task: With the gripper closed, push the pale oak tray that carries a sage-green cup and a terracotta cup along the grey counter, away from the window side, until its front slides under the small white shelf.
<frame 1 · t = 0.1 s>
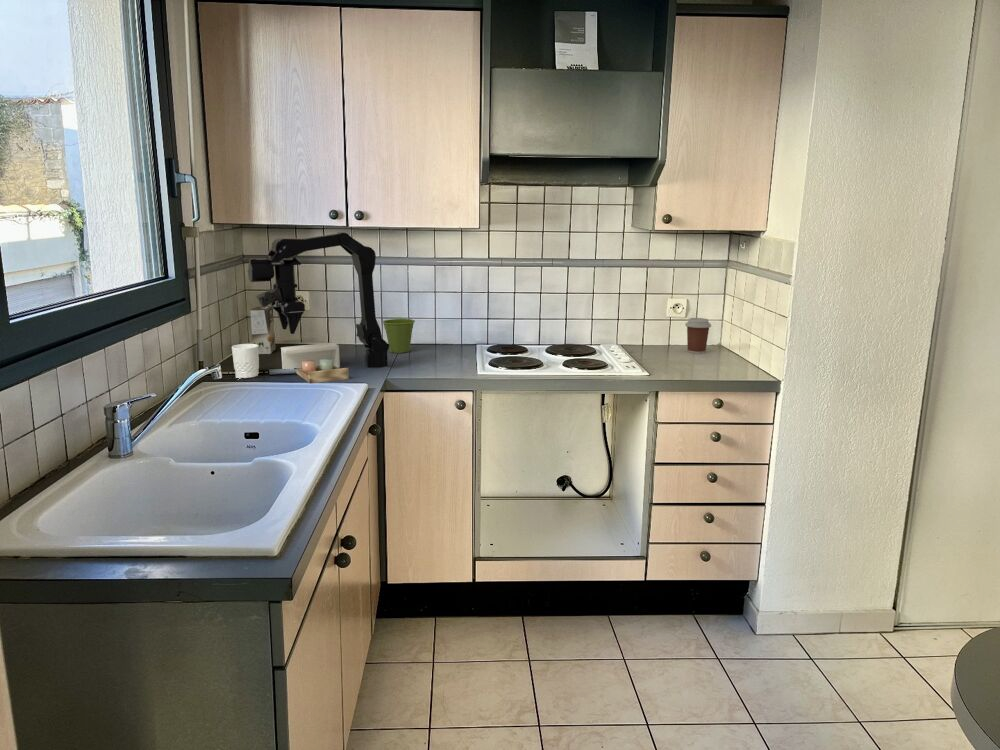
hand: (288, 331, 230), 15 cm above the worktop, tool pointing down, fingers open, 9 cm apart
plant pot: (399, 352, 274), on the worktop
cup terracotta: (309, 374, 235), point 1 cm above the worktop, touching tray
tray: (322, 372, 233), point 2 cm above the worktop, slide at 0.0 cm, touching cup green, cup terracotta
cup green: (326, 372, 238), point 1 cm above the worktop, touching tray
coffee box: (264, 352, 273), on the worktop
white cup: (247, 378, 234), on the worktop
coffee cup: (696, 352, 276), on the worktop
shelf: (311, 370, 243), on the worktop
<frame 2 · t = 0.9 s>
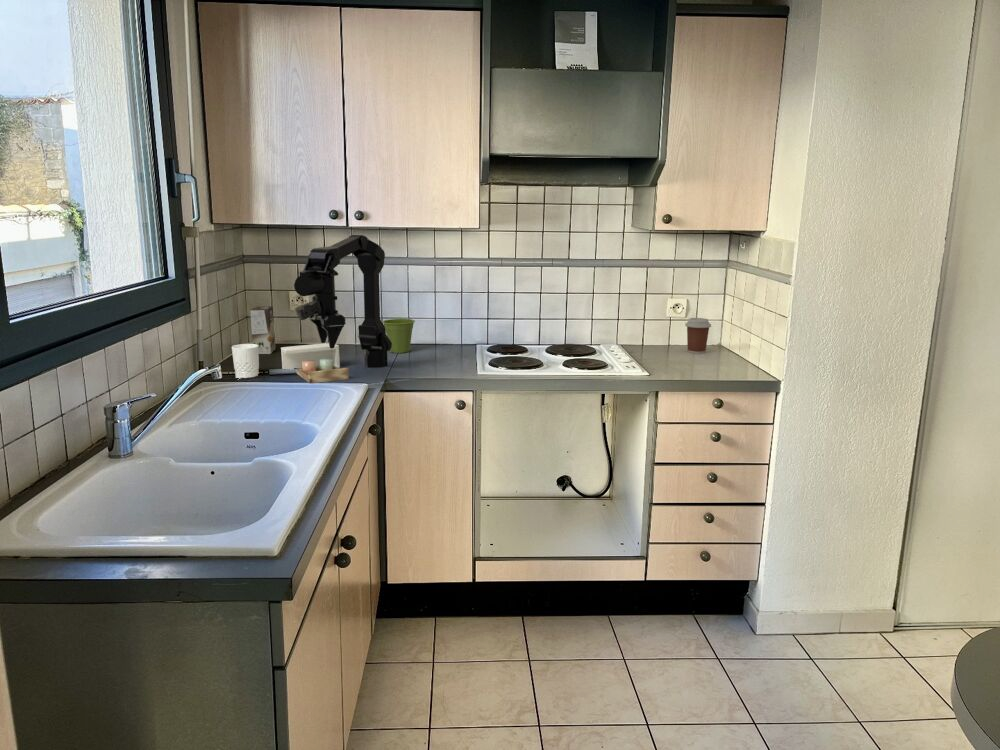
hand: (327, 345, 221), 12 cm above the worktop, tool pointing down, fingers open, 9 cm apart
nothing on the worktop moved.
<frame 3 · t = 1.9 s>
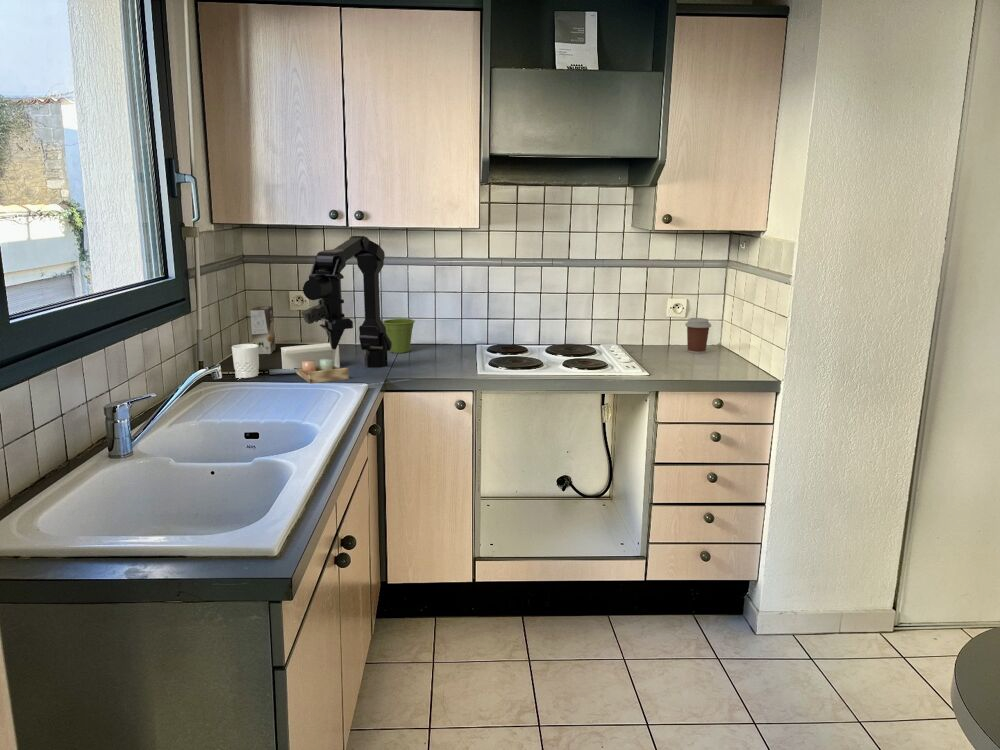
hand: (333, 349, 220), 12 cm above the worktop, tool pointing down, fingers closed
nothing on the worktop moved.
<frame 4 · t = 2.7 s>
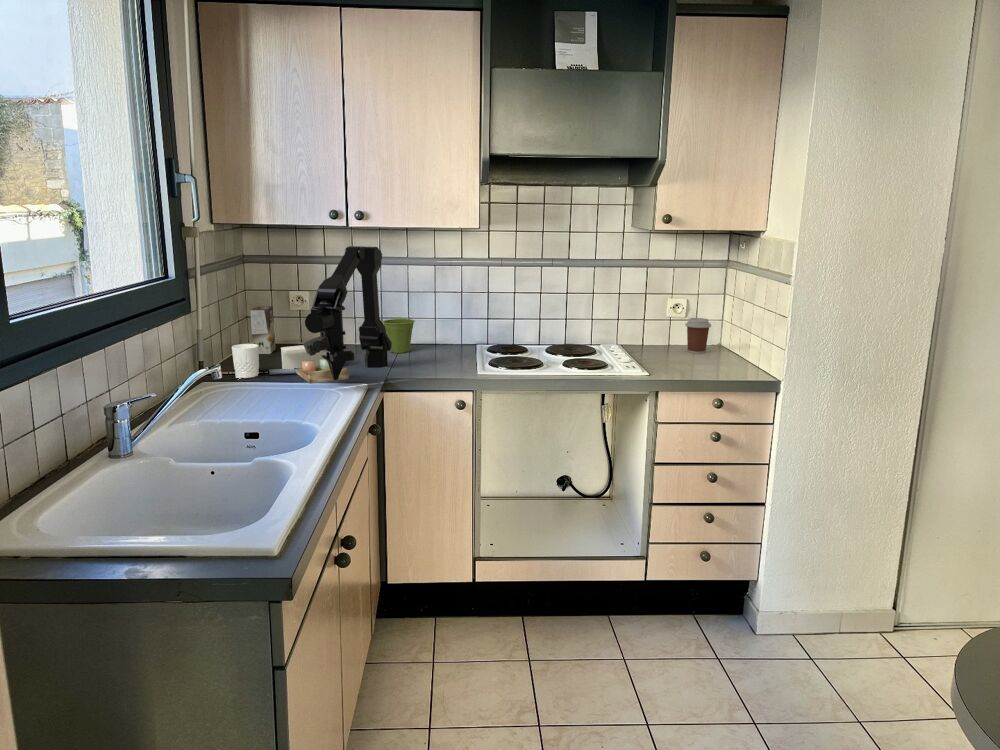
hand: (335, 379, 222), 2 cm above the worktop, tool pointing down, fingers closed
nothing on the worktop moved.
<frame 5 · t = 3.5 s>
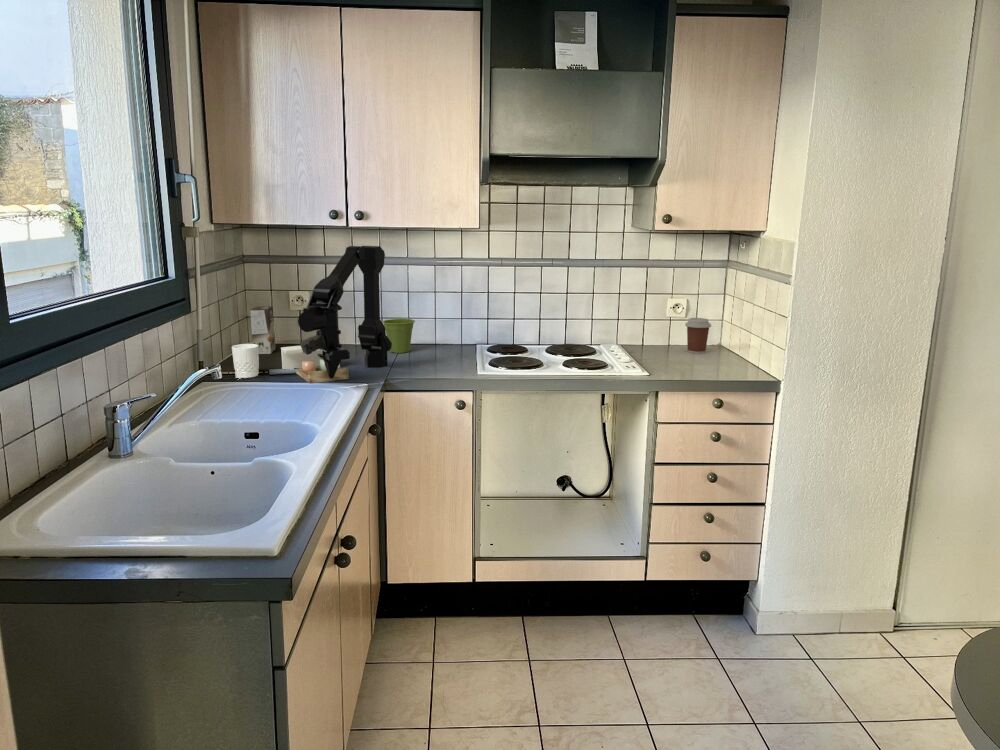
hand: (331, 378, 225), 2 cm above the worktop, tool pointing down, fingers closed
tray: (322, 372, 233), point 2 cm above the worktop, slide at 0.1 cm, touching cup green, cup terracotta, gripper
everything else where it was.
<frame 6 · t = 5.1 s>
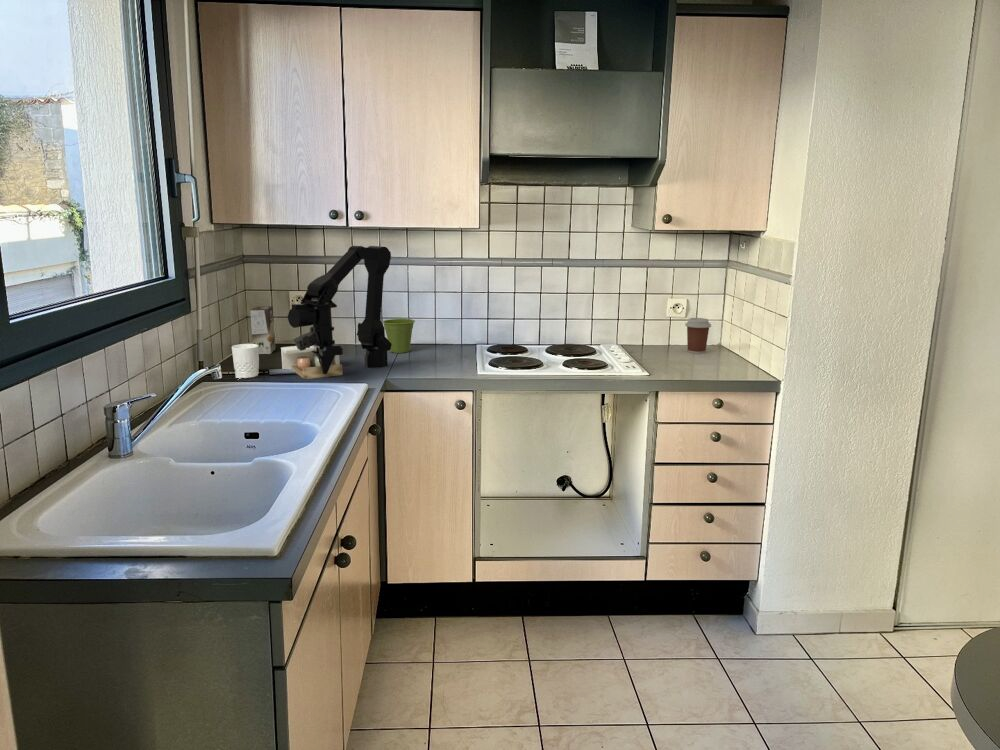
hand: (325, 373, 230), 2 cm above the worktop, tool pointing down, fingers closed
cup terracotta: (303, 370, 240), point 1 cm above the worktop, touching tray
tray: (316, 368, 238), point 2 cm above the worktop, slide at 6.0 cm, touching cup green, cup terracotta, gripper
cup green: (321, 368, 243), point 1 cm above the worktop, touching tray
everything else where it was.
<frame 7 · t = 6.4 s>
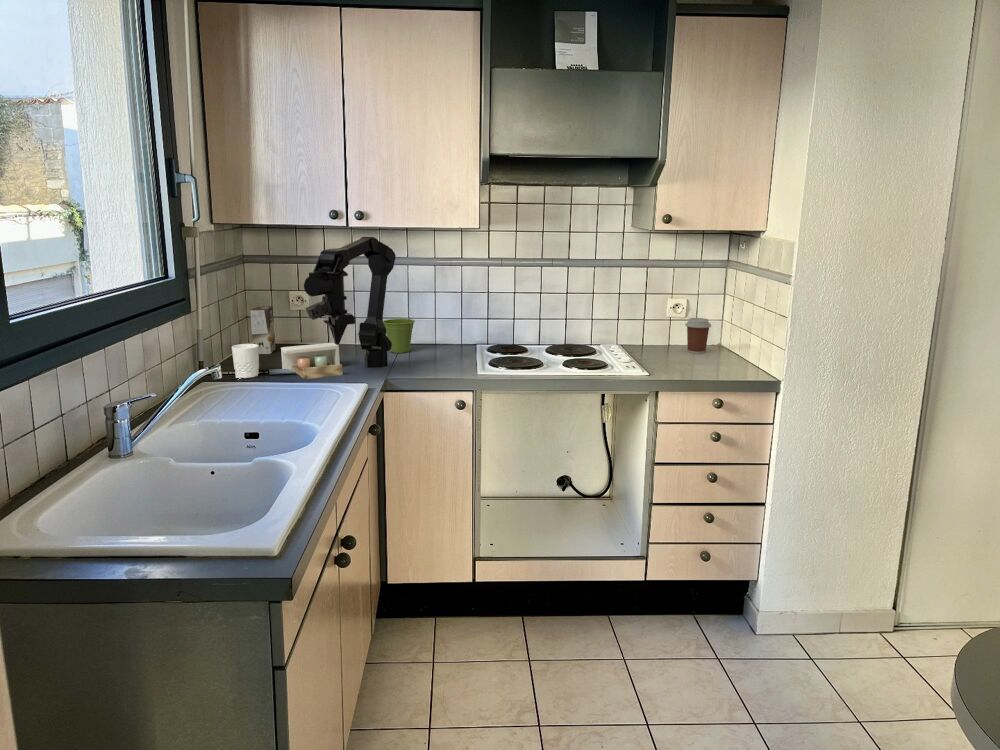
hand: (337, 344, 227), 12 cm above the worktop, tool pointing down, fingers closed
tray: (316, 368, 238), point 2 cm above the worktop, slide at 6.0 cm, touching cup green, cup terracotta
everything else where it was.
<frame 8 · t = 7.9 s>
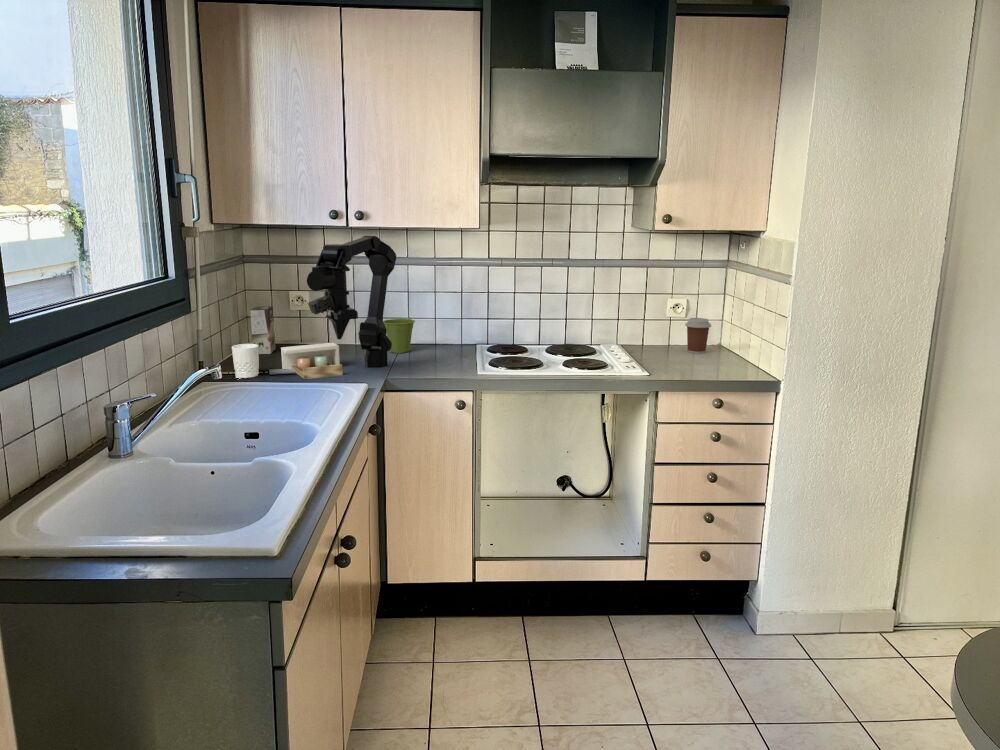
hand: (339, 339, 227), 13 cm above the worktop, tool pointing down, fingers closed
nothing on the worktop moved.
at the end: tray slide at 5.9 cm; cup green tilted 0°; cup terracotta inside the target area (0.6 cm from its centre), point 0.8 cm above the worktop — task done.
